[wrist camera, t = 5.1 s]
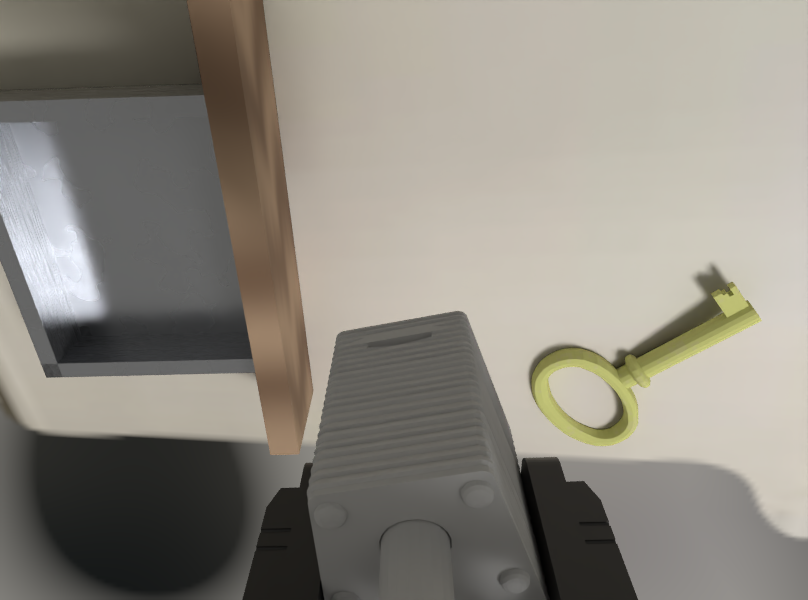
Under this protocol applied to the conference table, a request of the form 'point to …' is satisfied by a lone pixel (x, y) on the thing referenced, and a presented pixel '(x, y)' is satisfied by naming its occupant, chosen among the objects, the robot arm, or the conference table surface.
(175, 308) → the grey metal tray
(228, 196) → the door strip
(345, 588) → the padlock
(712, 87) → the conference table surface
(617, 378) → the key
